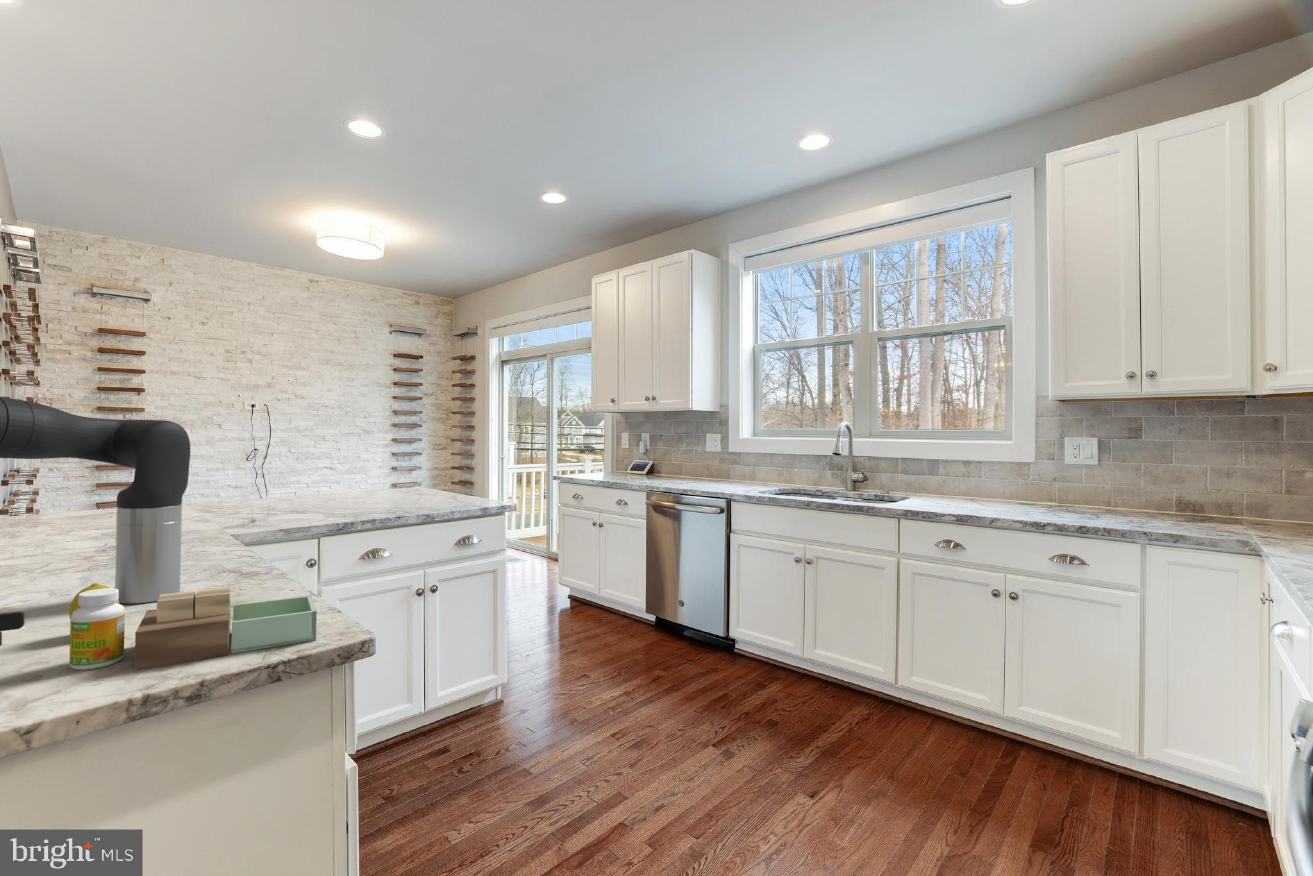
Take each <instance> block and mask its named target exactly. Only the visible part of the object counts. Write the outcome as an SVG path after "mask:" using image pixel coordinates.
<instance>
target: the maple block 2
mask: <svg viewBox="0 0 1313 876" xmlns="http://www.w3.org/2000/svg"><path fill="white" fill-rule="evenodd" d="M229 610H230V611H231V587H221V588H212V589H211V588H210V589H201V590H199V589H198V590H196V593H195V618H199V617H207V616H215V615H223V614H229Z"/></svg>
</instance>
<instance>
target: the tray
mask: <svg viewBox="0 0 1313 876" xmlns="http://www.w3.org/2000/svg"><path fill="white" fill-rule="evenodd" d="M315 605H316V604H315V603H314V599H313V597H312V595H302V596H295V597H285V598H279V599H270V600H260V601H259V600H258V601H251V602H244V603H242V602H241V603H234V604H233V607H232V612H233V613H232V620H231V643H230V645H231V647H230V649H231V652H230V654H237V653H243V652H244V653H245V652H249V651H256V650H261V649H262V650H263V649H268V648H275V647H280V646H281V647H282V646H288V645H295V644H302V643H307V642H312V641H317V609H316V606H315Z"/></svg>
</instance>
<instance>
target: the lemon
mask: <svg viewBox="0 0 1313 876" xmlns="http://www.w3.org/2000/svg"><path fill="white" fill-rule="evenodd" d="M104 588H111V587H109V586H107V585H103V584H100V583H99V582H96V583H92V584H91V585H89V586H88V587H85V588H83V589H81V590H80V591H79V592H77V593H76V595H75V596H74V597H73V599H72V601H71V603H70V606H69V612H68V613H69V614H68V615H69V620H70V621H71V615H72V614H73V612H74V611H76V610H78V609H80V607H81V606H79V605H78V604H79V603H78V595H79V594H80V593H82V592H85V591H90V590H95V589H104ZM116 604H120V603H119V599H118V600H117V601H116Z"/></svg>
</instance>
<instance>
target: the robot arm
mask: <svg viewBox="0 0 1313 876" xmlns="http://www.w3.org/2000/svg"><path fill="white" fill-rule="evenodd" d="M1 458H2V459H19V460H21V459H24V460H41V459H42V460H45V459H47V460H48V459H61V458H62V459H63V458H65V459H80V460H88V461H96V462H99V463H104V464H112V465H115V466H116V465H117V466H120V467H121V466H122V467H126V468H132V469H134V476H133V481H132V482H131V484H130V485H128V486H127V487H126V488H124V489H122V490H120V491H118V493H117V496H116V527H115V528H116V530H115V531H116V534H115V535H116V536H115V574H114V575H115V576H114V578H115V579H114V582H115V583H114V589H118V590H119V598H118V599H119V604H127V605H128V604H131V605H132V604H143V603H151V602H157V600H158V599H159V597H160V595H161V594H170V593H179V592H181V571H182V570H181V569H182V568H181V567H182V566H181V563H182V561H181V559H182V558H181V557H182V516H183V515H182V512H183V510H182V509H183V508H182V507H183V506H182V505H183V504H182V503H183V496H184V495H185V492H186V489H187V488H188V484H189V475H190V462H191V441H190V438H189V434H188V432H187V431H186V430H185V428H184V427H183V426H181V424H178V423H177V422H174V421H172V420H171V421H170V420H161V419H116V418H115V419H114V418H113V419H112V418H99V417H90V416H82V415H78V414H73V413H70V412H67V411H64V410H62V409H60V408H59V409H58V408H55V407H52V406H49V405H46V404H42V403H39V402H34V401H29V400H24V399H18V398H12V397H4V396H0V459H1ZM25 615H26V614H25V612H23V611H11V612H2V613H0V647H1V646H2V644H3V631H4V632H5V631H6V632H7V631H16V630H20V629H22V628H23V627H24V626H25V624H26V623H25Z"/></svg>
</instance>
